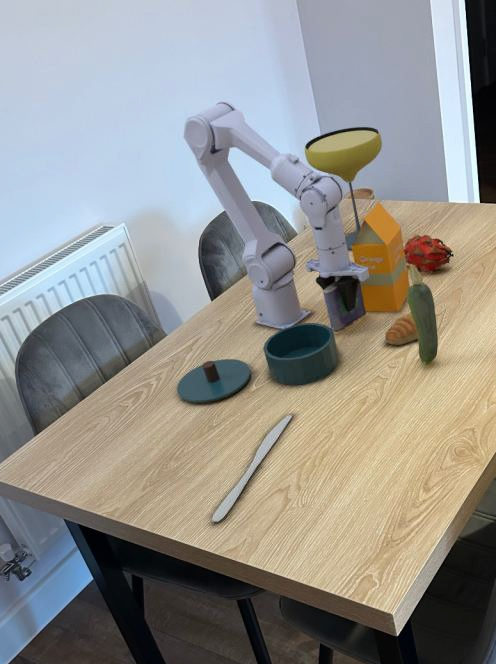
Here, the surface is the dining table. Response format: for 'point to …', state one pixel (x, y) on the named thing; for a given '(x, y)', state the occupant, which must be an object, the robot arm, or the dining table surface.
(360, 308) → the flask
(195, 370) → the lid
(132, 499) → the dining table surface
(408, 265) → the vegetable
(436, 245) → the dragon fruit
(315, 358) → the pan
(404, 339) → the pastry
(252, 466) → the butter knife
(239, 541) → the dining table surface
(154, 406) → the dining table surface
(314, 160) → the cocktail glass
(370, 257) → the orange juice
